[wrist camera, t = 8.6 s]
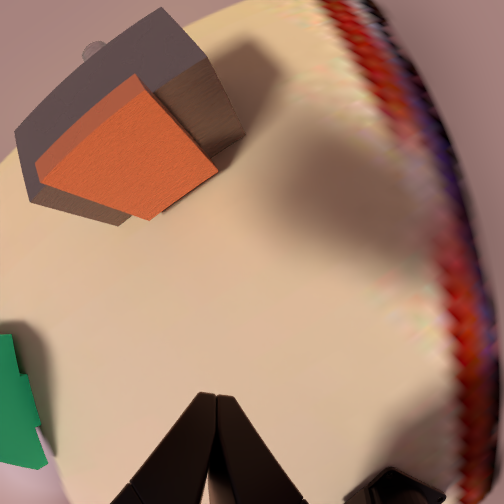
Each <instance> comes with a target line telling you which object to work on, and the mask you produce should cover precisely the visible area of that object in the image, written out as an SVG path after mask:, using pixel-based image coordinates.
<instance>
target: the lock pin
mask: <svg viewBox="0 0 504 504" xmlns="http://www.w3.org/2000/svg"><path fill="white" fill-rule="evenodd" d="M105 45H106V43H104V42H102V41H96V42H93V43H91V44H89V45H88V46H87V47H86V48H85V49H84V51H83V54H82V58H83V61H84V62H85V61H86V60H88V59H89V58H90V57H91V56H92V55H94V54H95V53H96V52H97V51H99V50H100V49H101V48H102V47H104V46H105ZM35 166H36V170H37V173H38V177H39V181H40V183H43V184H45V185H48V186H51V187H54V188H57V189H60V190H62V191H65V192H68V193H71V194H74V195H77V196H79V197H82V198H85V199H88V200H91V201H94V202H97V203H99V204H102V205H105V206H108V207H111V208H114V209H117V210H119V211H122V212H125V213H128V214H131V215H134V216H137V217H139V218H142V219H145V220H148V221H150V220H151V219H152V218H154V217H155V216H156V215H158V214H159V213H160V212H162V211H163V210H164V209H166V208H167V207H168V206H170V205H171V204H173V203H174V202H175V201H177V200H178V199H179V198H181V197H182V196H184V195H185V194H186V193H188V192H189V191H191V190H192V189H194V188H195V187H196V186H198V185H199V184H201V183H202V182H204V181H205V180H207V179H208V178H209V177H211V176H212V175H214V174H215V173H217V172H218V169H217V168H216V166H215V165H214V163H213V162H212V160H211V159H210V157H209V156H208V155H207V154H206V153H205V152H204V150H203V149H202V148H201V147H200V146H199V145H198V144H197V142H196V141H195V140H194V139H193V138H192V137H191V136H190V134H189V133H188V132H187V131H186V130H185V129H184V128H183V126H182V125H181V124H180V123H179V122H178V121H177V120H176V118H175V117H174V116H173V115H172V114H171V113H170V112H169V111H168V109H167V108H166V107H165V106H164V105H163V104H162V103H161V102H160V100H159V99H158V98H157V97H156V96H155V95H154V94H153V93H152V91H151V90H150V89H149V88H148V87H147V86H146V85H145V84H144V83H143V81H142V80H141V79H140V78H139V77H138V76H137V75H136V74H133V75H132V76H131V77H129V78H128V79H127V80H125V81H124V82H123V83H121V84H120V85H119V86H118V87H116V88H115V89H114V90H113V91H111V92H110V93H109V94H108V95H106V96H105V97H104V98H103V99H102V100H100V101H99V102H98V103H97V104H96V105H94V106H93V107H92V108H91V109H90V110H89V111H88V112H86V113H85V114H84V115H83V116H82V117H81V118H80V119H79V120H78V121H76V122H75V123H74V124H73V125H72V126H71V127H70V128H69V129H68V130H67V131H66V132H65V133H64V134H63V135H62V136H61V137H60V138H59V139H58V140H56V141H55V142H54V143H53V144H52V146H51V147H50V148H49V149H48V150H47V151H46V152H45V153H44V154H43V155H42V156H41V157H40V158H39V159H38V160H37V161H36V162H35Z"/></svg>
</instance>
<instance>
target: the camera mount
mask: <svg viewBox="0 0 504 504" xmlns="http://www.w3.org/2000/svg"><path fill="white" fill-rule="evenodd" d="M40 425H42V424H41V421H40V418H39V415H38V412H37V408H36V405H35V402H34V398H33V394H32V391H31V387H30V383H29V379H28V375H27V374H20V373H19V369H18V365H17V360H16V355H15V350H14V345H13V339H12V334H0V462H3V463H7V464H12V465H16V466H21V467H26V468H31V469H36V470H38V469H40V468H42V467H43V466H45V465H47V464H48V461H47V459H46V457H45V454H44V451H43V449H42V446H41V443H40V441H39V438H38V435H37V432H36V429H35V427H38V426H40Z"/></svg>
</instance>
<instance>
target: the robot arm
mask: <svg viewBox="0 0 504 504" xmlns="http://www.w3.org/2000/svg"><path fill="white" fill-rule="evenodd" d="M207 473H208V489H209V500H210V504H309V503H308V502H307V501H306V500H305V499H303V496H302V494H301V493H300V492H299V490H298V489H297V488H296V486H295V485H294V484H293V482H292V481H291V480H290V478H289V477H288V476H287V474H286V473H285V471H284V470H283V469H282V467H281V466H280V464H279V463H278V462H277V460H276V459H275V457H274V456H273V454H272V453H271V452H270V450H269V449H268V447H267V446H266V444H265V443H264V441H263V440H262V439H261V437H260V436H259V434H258V433H257V431H256V430H255V428H254V427H253V425H252V424H251V422H250V421H249V419H248V417H247V416H246V414H245V413H244V411H243V410H242V408H241V407H240V405H239V404H238V402H237V400H236V399H235V398H234V397H233V396H228V395H220V394H219V395H217V396H216V395H215V394H213V393H206V392H199V393H198V394H197V395H196V396H195V398H194V399H193V400H192V402H191V403H190V404H189V406H188V407H187V408H186V410H185V411H184V412H183V413H182V415H181V416H180V417H179V419H178V420H177V421H176V423H175V424H174V425H173V427H172V428H171V429H170V430H169V432H168V433H167V434H166V436H165V437H164V438H163V439H162V441H161V442H160V443H159V445H158V446H157V447H156V448H155V450H154V451H153V452H152V453H151V455H150V456H149V457H148V459H147V460H146V461H145V462H144V464H143V465H142V466H141V467H140V469H139V470H138V471H137V472H136V474H135V475H134V476H133V477H132V478H131V480H130V481H129V482H130V483H127V484H126V486H125V487H124V488H123V489H122V490H121V492H120V493H119V494H118V495H117V496H116V497H115V499H114V500H113V501H112V502H111V503H110V504H201V501H202V496H203V492H204V488H205V483H206V478H207ZM389 473H392V474H391V475H389V476H387V474H389ZM440 497H441V498H440ZM438 498H439V499H438ZM302 499H303V500H302ZM445 499H446V494H445V493H444V492H443V491H440V490H438V489H436V488H434V487H432V486H430V485H428V484H426V483H424V482H422V481H420V480H418V479H416V478H414V477H412V476H410V475H408V474H406V473H404V472H402V471H400V470H398V469H396V468H394V467H388V468H386V469H384V470H383V471H382V472H381V473H380V474H379V475H378V476H377V477H376V478H375V479H374V480H373V481H372V482H370V483H369V484H368V485H367V486H366V487H365V488H363V489H361V490H360V491H359V492H358V493H357V494H356V495H354V496H353V497H352V498H351V499H350V500H349V501H347V502H346V503H345V504H442V503H443V502H444V501H445Z"/></svg>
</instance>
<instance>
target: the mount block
mask: <svg viewBox="0 0 504 504" xmlns="http://www.w3.org/2000/svg"><path fill="white" fill-rule="evenodd" d="M133 74H136V75H137V76H138V77H139V78H140V79H141V80H142V81H143V83H144V84H145V85H146V86H147V87H148V88H149V89H150V90H151V91H152V93H153V94H154V95H155V96H156V97H157V98H158V99H159V100H160V102H161V103H162V104H163V105H164V106H165V107H166V108H167V109H168V111H169V112H170V113H171V114H172V115H173V116H174V117H175V118H176V120H177V121H178V122H179V123H180V124H181V125H182V126H183V128H184V129H185V130H186V131H187V132H188V133H189V134H190V136H191V137H192V138H193V139H194V140H195V141H196V142H197V144H198V145H199V146H200V147H201V148H202V149H203V150H204V152H205V153H206V154H207V155H208V156H209V157H210V158H211V157H213V156H214V155H216V154H217V153H219V152H220V151H222V150H223V149H225V148H226V147H228V146H229V145H231V144H232V143H234V142H235V141H237V140H238V139H240V138H241V137H243V136H245V135H246V134H245V132H244V130H243V128H242V126H241V124H240V122H239V120H238V118H237V116H236V114H235V111H234V109H233V107H232V105H231V103H230V101H229V99H228V97H227V95H226V93H225V91H224V89H223V87H222V85H221V83H220V81H219V79H218V77H217V75H216V73H215V71H214V69H213V67H212V65H211V63H210V61H209V59H208V57H207V56H206V55H205V53H204V52H203V51H202V50H201V49H200V48H199V47H198V46H197V44H196V43H195V42H194V41H193V40H192V39H191V38H190V37H189V36H188V34H187V33H186V32H185V31H184V30H183V29H182V28H181V27H180V26H179V25H178V24H177V23H176V21H174V19H173V18H172V17H171V16H170V15H169V14H168V13H167V12H166V11H165V10H164V9H163V8H162V7H160V8H158V9H157V10H155V11H154V12H152V13H151V14H149V15H147V16H146V17H144V18H143V19H141V20H140V21H138V22H137V23H136V24H134V25H133V26H131V27H130V28H128V29H127V30H125V31H124V32H123V33H121V34H120V35H118V36H117V37H116V38H114V39H113V40H112V41H110V42H109V43H108V44H106V45H105V46H104V47H102V48H101V49H100V50H99V51H97V52H96V53H95V54H94V55H92V56H91V57H90V58H89V59H88V60H86V61H85V62H84V63H83V64H82V65H80V66H79V67H78V68H77V69H76V70H75V71H74V72H73V73H71V74H70V75H69V76H68V77H67V78H66V79H65V80H64V81H63V82H61V84H60V85H58V86H57V87H56V88H55V89H54V90H53V91H52V92H51V93H50V94H49V95H48V96H47V97H46V98H45V99H44V100H43V101H42V102H41V103H40V104H39V105H38V106H37V107H36V108H35V109H34V110H33V112H31V113H30V115H29V116H28V117H27V118H26V119H25V120H24V121H23V122H22V123H21V125H20V126H19V127H18V128H17V129H16V130H15V131H14V132H15V138H16V144H17V149H18V154H19V159H20V164H21V168H22V173H23V177H24V181H25V185H26V189H27V193H28V197H29V201H30V202H31V203H34V204H38V205H42V206H45V207H49V208H53V209H56V210H60V211H64V212H67V213H71V214H75V215H78V216H82V217H86V218H89V219H93V220H97V221H100V222H104V223H108V224H112V225H115V226H119V225H120V224H122V223H123V222H124V221H125V220H127V219H128V218H129V217H130V216H132V215H131V214H128V213H125V212H122V211H119V210H117V209H114V208H111V207H108V206H105V205H102V204H99V203H97V202H94V201H91V200H88V199H85V198H82V197H79V196H77V195H74V194H71V193H68V192H65V191H62V190H60V189H57V188H54V187H51V186H48V185H45V184H43V183H40V181H39V177H38V173H37V170H36V166H35V162H36V161H37V160H38V159H39V158H40V157H41V156H42V155H43V154H44V153H45V152H46V151H47V150H48V149H49V148H50V147H51V146H52V144H53V143H54V142H55V141H56V140H58V139H59V138H60V137H61V136H62V135H63V134H64V133H65V132H66V131H67V130H68V129H69V128H70V127H71V126H72V125H73V124H74V123H75V122H76V121H78V120H79V119H80V118H81V117H82V116H83V115H84V114H85V113H86V112H88V111H89V110H90V109H91V108H92V107H93V106H94V105H96V104H97V103H98V102H99V101H100V100H102V99H103V98H104V97H105V96H106V95H108V94H109V93H110V92H111V91H113V90H114V89H115V88H116V87H118V86H119V85H120V84H121V83H123V82H124V81H125V80H127V79H128V78H129V77H131V76H132V75H133Z"/></svg>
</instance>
